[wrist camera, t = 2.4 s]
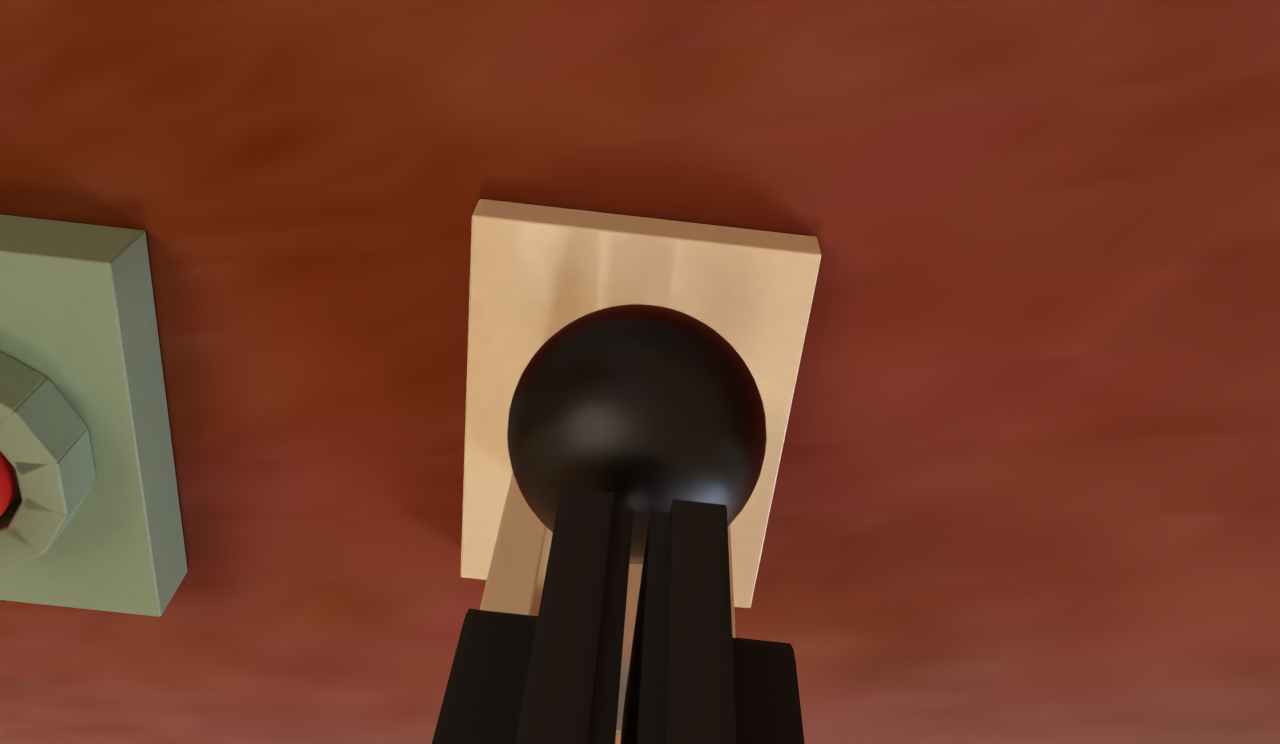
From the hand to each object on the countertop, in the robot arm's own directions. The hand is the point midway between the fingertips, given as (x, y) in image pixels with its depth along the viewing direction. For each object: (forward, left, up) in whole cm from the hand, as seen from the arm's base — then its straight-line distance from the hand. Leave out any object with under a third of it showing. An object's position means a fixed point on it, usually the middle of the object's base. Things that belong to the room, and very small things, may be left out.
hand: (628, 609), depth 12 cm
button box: (+11, -18, -19) cm, 29 cm away
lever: (+4, 0, -7) cm, 8 cm away
